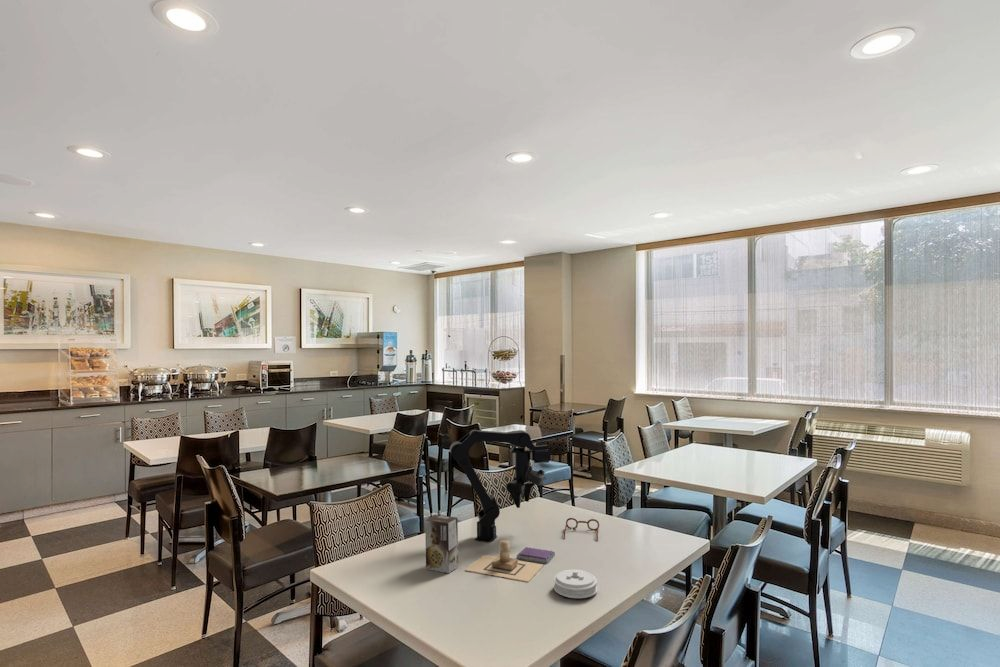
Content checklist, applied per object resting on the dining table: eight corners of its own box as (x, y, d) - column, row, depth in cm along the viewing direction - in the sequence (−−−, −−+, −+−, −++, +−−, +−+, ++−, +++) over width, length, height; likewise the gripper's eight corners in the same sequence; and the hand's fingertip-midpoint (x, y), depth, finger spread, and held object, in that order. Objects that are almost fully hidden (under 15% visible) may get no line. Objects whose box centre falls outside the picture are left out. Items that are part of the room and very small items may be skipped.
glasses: (599, 531, 211) (599, 518, 211) (598, 542, 198) (598, 529, 198) (566, 529, 213) (566, 516, 214) (563, 540, 201) (562, 527, 201)
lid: (583, 579, 165) (583, 563, 165) (605, 597, 153) (605, 579, 153) (546, 586, 160) (546, 569, 161) (566, 604, 149) (566, 586, 149)
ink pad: (516, 558, 182) (516, 554, 182) (525, 550, 189) (525, 546, 189) (547, 563, 177) (547, 558, 177) (554, 555, 185) (554, 550, 185)
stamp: (491, 568, 173) (491, 542, 173) (498, 562, 178) (498, 537, 178) (511, 571, 170) (511, 545, 171) (517, 566, 175) (517, 540, 175)
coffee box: (458, 566, 175) (458, 517, 176) (449, 574, 170) (448, 522, 170) (435, 562, 179) (435, 514, 180) (424, 569, 173) (424, 519, 174)
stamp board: (464, 570, 172) (464, 569, 172) (484, 555, 185) (484, 554, 185) (528, 582, 163) (528, 580, 163) (543, 565, 176) (543, 564, 176)
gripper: (533, 470, 194) (533, 513, 193) (550, 460, 211) (550, 500, 210) (505, 467, 198) (505, 510, 198) (524, 458, 215) (524, 497, 215)
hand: (522, 504), depth 205 cm, fingers open, 9 cm apart
